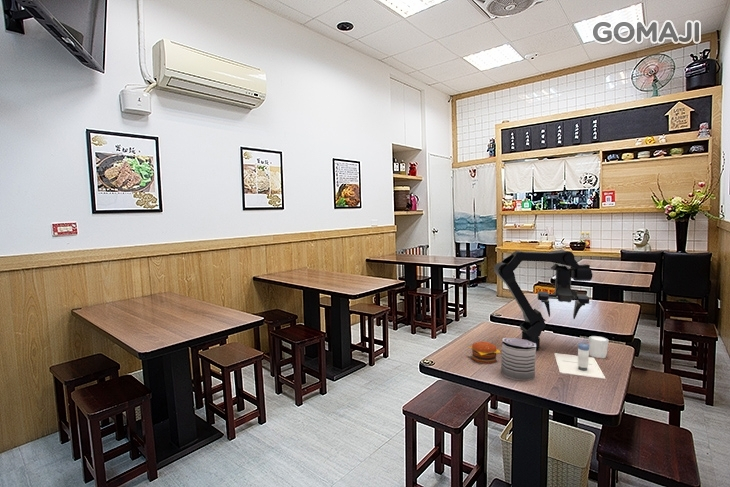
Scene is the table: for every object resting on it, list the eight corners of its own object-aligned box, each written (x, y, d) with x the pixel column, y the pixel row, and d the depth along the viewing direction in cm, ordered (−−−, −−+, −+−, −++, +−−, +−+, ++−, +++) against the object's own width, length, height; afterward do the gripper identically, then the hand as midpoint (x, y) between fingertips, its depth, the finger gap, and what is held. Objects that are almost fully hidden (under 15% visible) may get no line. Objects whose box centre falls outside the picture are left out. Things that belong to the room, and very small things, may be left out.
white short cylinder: (610, 359, 150) (611, 341, 149) (591, 358, 151) (592, 340, 150) (603, 353, 156) (604, 336, 156) (585, 351, 158) (586, 335, 157)
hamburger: (486, 353, 156) (486, 337, 155) (501, 362, 147) (502, 345, 146) (466, 356, 153) (466, 339, 152) (480, 365, 144) (481, 348, 143)
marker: (578, 370, 139) (579, 345, 138) (576, 366, 142) (577, 342, 141) (588, 371, 137) (590, 346, 137) (587, 368, 141) (588, 343, 140)
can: (493, 370, 139) (494, 338, 138) (517, 365, 144) (518, 333, 143) (518, 383, 129) (519, 348, 128) (542, 377, 133) (544, 343, 132)
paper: (559, 373, 137) (560, 372, 137) (554, 353, 156) (554, 352, 156) (605, 379, 132) (605, 378, 132) (593, 358, 151) (593, 357, 151)
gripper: (539, 282, 155) (538, 320, 157) (592, 285, 149) (590, 325, 150) (538, 278, 166) (536, 313, 167) (587, 280, 159) (585, 318, 160)
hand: (561, 317), depth 161 cm, fingers open, 9 cm apart
